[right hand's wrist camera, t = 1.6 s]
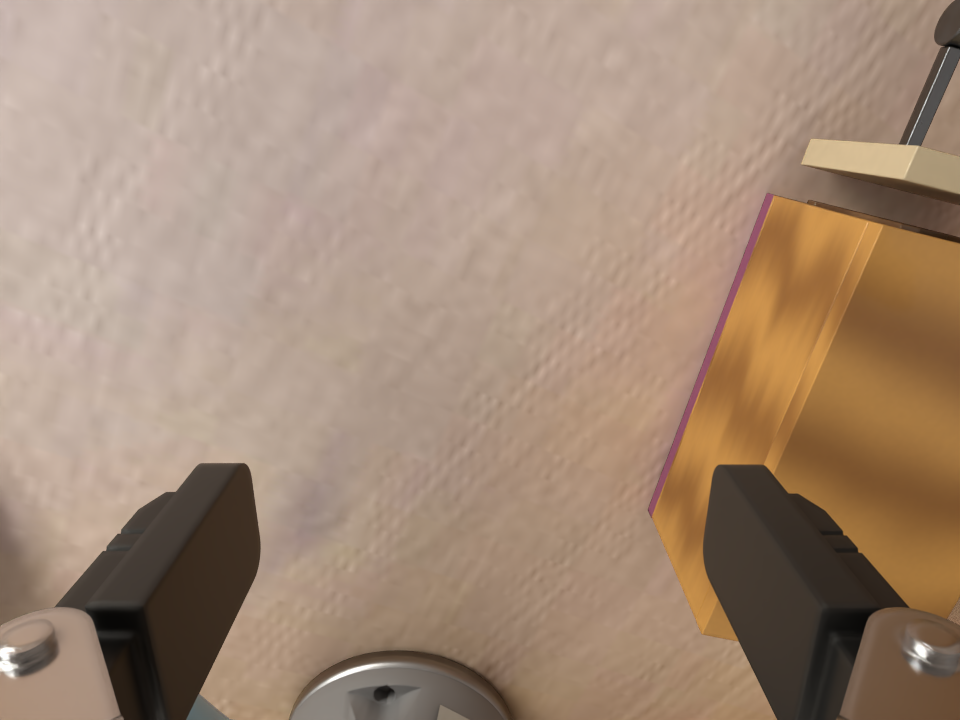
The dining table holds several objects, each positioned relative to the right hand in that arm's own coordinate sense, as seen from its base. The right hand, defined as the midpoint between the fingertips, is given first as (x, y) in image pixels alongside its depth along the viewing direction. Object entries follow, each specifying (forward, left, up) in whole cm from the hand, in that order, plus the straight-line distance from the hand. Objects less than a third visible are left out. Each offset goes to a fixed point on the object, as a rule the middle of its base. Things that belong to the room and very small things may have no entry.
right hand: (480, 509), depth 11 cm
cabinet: (+5, +18, -23) cm, 30 cm away
